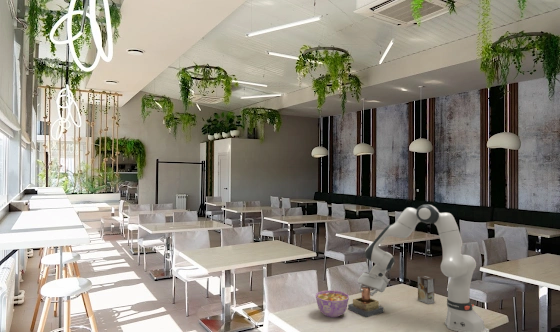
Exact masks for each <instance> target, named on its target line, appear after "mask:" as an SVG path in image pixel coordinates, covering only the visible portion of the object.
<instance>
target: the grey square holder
mask: <svg viewBox="0 0 560 332" xmlns="http://www.w3.org/2000/svg"><path fill="white" fill-rule="evenodd" d="M379 303H380V301H379V300H376V299H374V298H371V297H370V303H367V304H365V303H363V302H362V296H361V297H356V298H354V299H352V303H350V304H349V303H348V304H347V307H348V310H349V311H351V312H353V313H356V314H357V315H359V316H362V317H365V318H369V317H371V316H375V315H379V314H382V313H384V307H383V306H381V305H380V304H379Z"/></svg>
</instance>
